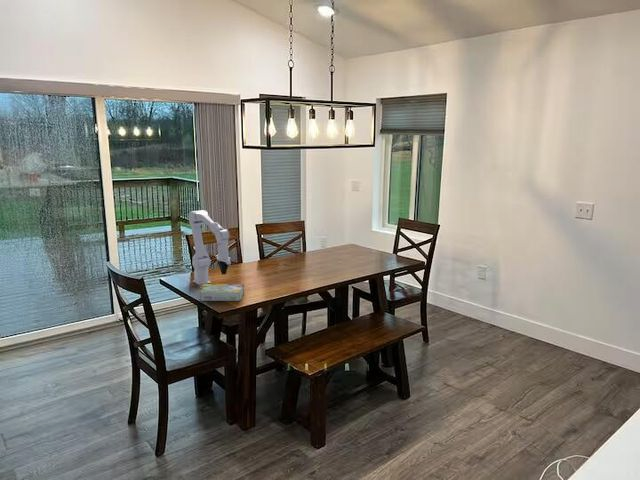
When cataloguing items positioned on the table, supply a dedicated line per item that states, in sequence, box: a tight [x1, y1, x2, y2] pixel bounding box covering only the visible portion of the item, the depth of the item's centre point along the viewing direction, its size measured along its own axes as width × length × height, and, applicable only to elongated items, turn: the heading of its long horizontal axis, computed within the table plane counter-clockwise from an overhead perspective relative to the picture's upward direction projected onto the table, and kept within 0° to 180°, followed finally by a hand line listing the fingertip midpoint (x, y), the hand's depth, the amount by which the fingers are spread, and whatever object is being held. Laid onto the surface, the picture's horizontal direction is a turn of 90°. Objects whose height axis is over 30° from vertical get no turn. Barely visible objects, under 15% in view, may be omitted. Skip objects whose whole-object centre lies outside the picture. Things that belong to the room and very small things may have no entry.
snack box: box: [199, 283, 245, 302], centre depth 254 cm, size 21×6×15 cm
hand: (223, 274), depth 264 cm, fingers closed
